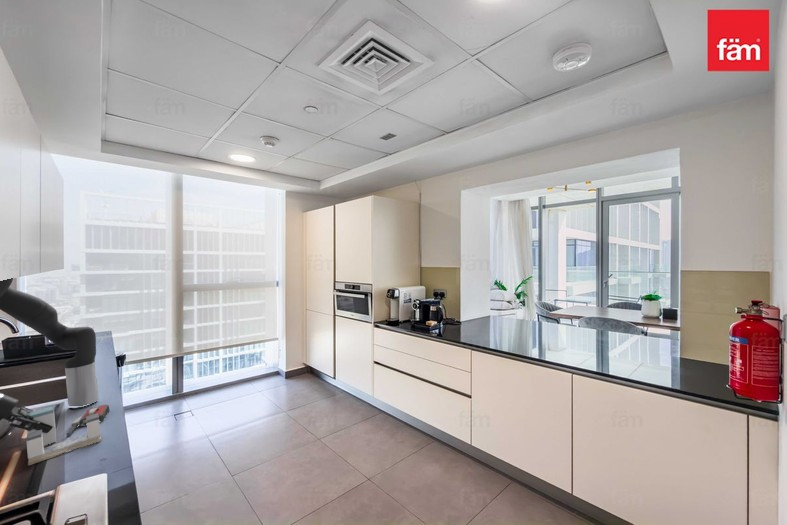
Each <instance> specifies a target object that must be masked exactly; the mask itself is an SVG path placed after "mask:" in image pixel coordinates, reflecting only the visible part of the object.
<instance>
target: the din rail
mask: <svg viewBox="0 0 787 525" xmlns="http://www.w3.org/2000/svg"><path fill="white" fill-rule="evenodd" d="M100 436H101V435H99V436H95V437H92V438H89V439H88V434H87V433H86V434H84V435H80V436H75V438H70V439H67V440H64V441H61V442H58V443H54V444H51V445H47V446H44V450H43V454H41V455H38V456H35V457H32V458H29V459H28V460H29V461H32V460H35V459H38V458H41V457H44V456H47V455H50V454H53V453H56V452H59V451H62V450H65V449H68V448H71V447H74V446H77V445H80V444H83V443H86V442H89V441H92V440H95V439H98V438H100Z"/></svg>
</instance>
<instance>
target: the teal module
mask: <svg viewBox="0 0 787 525" xmlns="http://www.w3.org/2000/svg"><path fill="white" fill-rule="evenodd" d="M32 411H33V412H31V413H28V414H30V415H31V416H33V417H34V419H36V420H38V421H40V422H43V423H45V424H48V425H51V426H53V428H52V429H51V430H50V431H49V432H48V433H43V432H42V435H43V446H44V447H47V446H49V445H52V444H51V443H53V442H56V443H57V427H56V418H55V406H53V405H52V406H49V407H46V408H45V407H44V408H40V409H37V410H32ZM27 419H28V420H29V417H27ZM31 424H32V423H29V424H28V425H29V426H30V425H31ZM35 431H38V430H35V429H34V430H31V431H28V430H26V432H27V434H28V433H32V432H35ZM48 444H49V445H48ZM53 444H54V443H53Z"/></svg>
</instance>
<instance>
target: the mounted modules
mask: <svg viewBox="0 0 787 525" xmlns="http://www.w3.org/2000/svg"><path fill="white" fill-rule="evenodd" d="M86 422H87V425H86V430H87V432H86V434H88V439H89V438H92V437H95V436H99V435H100V436H101V434H102V433H101V424H100V423H101V422H99V415H98V413H97V414H93V415H90V416H86ZM25 438H26V439H25V440H26V441H25V442H26V450H27V459H28V460H29V458H32V457H35V456H38V455H41V454H43V450H44V448H45V446H43V435H42V430H38V431H35V432H32V433H27V435H26V437H25Z"/></svg>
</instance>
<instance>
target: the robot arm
mask: <svg viewBox="0 0 787 525" xmlns="http://www.w3.org/2000/svg"><path fill="white" fill-rule="evenodd" d="M13 280H14V277H13V278H11V279H7V280H3V281H0V310H1V311H2V312H4V313H6V314H7V315H9V316H11V317H12V318H13V319H15V320H16V321H18V322H19V323H21V324H23V325H24V326H26V327H29V328H31V329H32V330H34V331H35V332H37V333H39V334H40V335H42V336H43V337H45V338H46V339H47V340H49V341H50V342H51V343H53V345H55V346H56V347H57V348H59V349H62V350H63V351H73V350H76V351H75V355H74V356H73V357H71V358H68V359H67V360H65V361H64V371H65V384H66V393H67V395H66V396H67V406H68V405H69V406H83V405H87V404H91V403H93V402H95V401H97V400H98V401H99V399H98V397H99V385H98V377H97V372H96V361H95V360H96V355H97V336H96V332H95V330H94V329H93V328H92V327H91V326H81V327H80V326H79V327H68V326H66V325H64V324H63V323H61V322H60V321H59V316H58V312H57V310H56V309H55V307H53V306H52V305H50V303H48V302H46V301H45V300H43V299H42V298H40V297H37V296H35V295H32V294H30V293H27V292H23V291H20V290H17V289H15V288H12V287H11V285H12V283H13ZM19 401H20V400H19V399H18V398H14V397H12V396H10V395H8V394H4V393H3V392H0V421H1V420H5V421H8V422H7V423H8V424H9V426H10V427H14V428H18V429H21V430H26V431H27V430H28V431H31V430H34V429H35V430H42V432H43V433H48V432H49V431H50V430H51V429H52V428H53V426H51V425H48V424H45V423H43V422H40V421H38V420H36V419H34V417H33V416H31V415H30V414H28V413H31V412H33V411H34V410H32V409H30V408H28V407H27V406H26V407H25V405H21V406H20V407H17V406H18V403H19ZM27 417H29V420H28V419H27ZM29 423H32V424H31V425H30V426H29V425H28V424H29Z"/></svg>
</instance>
